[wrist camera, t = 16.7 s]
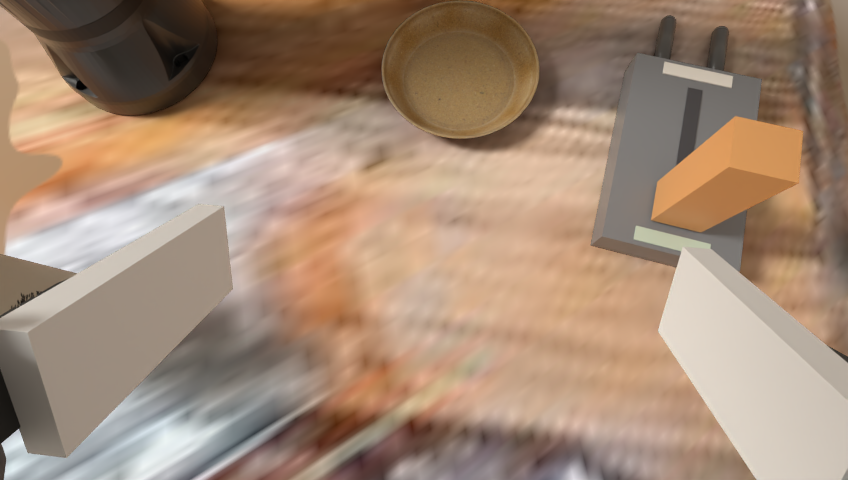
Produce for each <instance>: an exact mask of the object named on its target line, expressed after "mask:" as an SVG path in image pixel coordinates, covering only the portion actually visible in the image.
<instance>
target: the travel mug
mask: <svg viewBox="0 0 848 480" xmlns="http://www.w3.org/2000/svg"><path fill="white" fill-rule="evenodd" d="M76 274H77V273H73V272H69V271H65V270H61V269H57V268H53V267H50V266H46V265H42V264H38V263H34V262H30V261H26V260H22V259H18V258H14V257H10V256H6V255H2V254H0V315H2V314H3V313H5V312H7V311H9V310H10V309H12V308H14V307H19V306H20V304H21V303H23V302H24V301H26V300H28V299H30V298H32V297H37V294H39V293H40V292H42V291H44V290H46V289H47V288H49V287H51V286H53V285H54V284H56V283H58V282H61V281H64V280H66V279H69V278H71V277H73V276H74V275H76Z"/></svg>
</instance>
